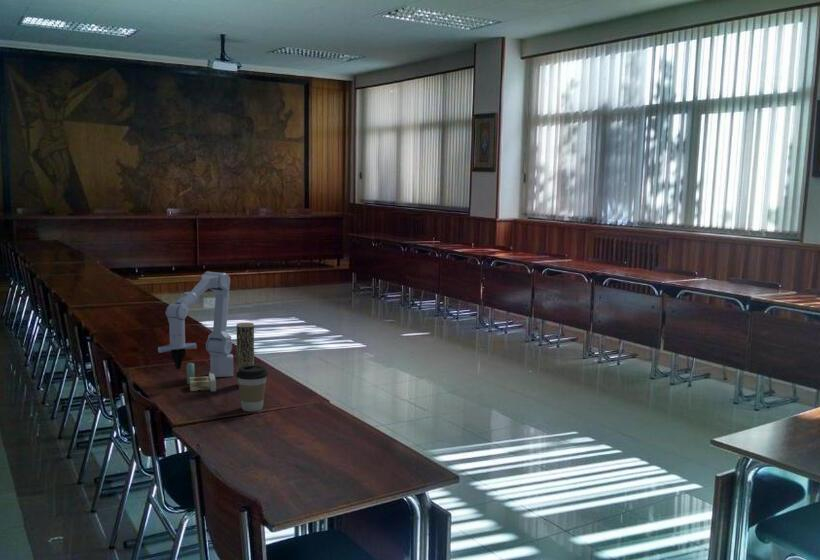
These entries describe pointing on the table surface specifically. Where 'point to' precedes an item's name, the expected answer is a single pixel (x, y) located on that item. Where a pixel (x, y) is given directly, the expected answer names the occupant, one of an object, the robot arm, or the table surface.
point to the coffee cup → (252, 387)
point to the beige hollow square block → (199, 383)
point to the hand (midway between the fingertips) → (178, 368)
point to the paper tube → (245, 345)
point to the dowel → (190, 371)
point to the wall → (212, 382)
